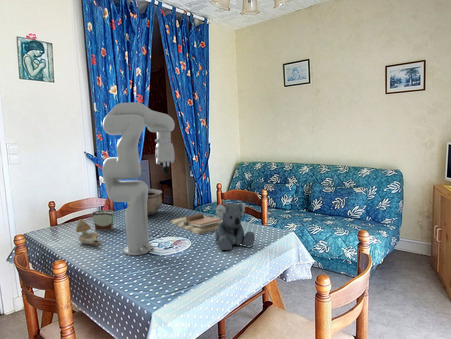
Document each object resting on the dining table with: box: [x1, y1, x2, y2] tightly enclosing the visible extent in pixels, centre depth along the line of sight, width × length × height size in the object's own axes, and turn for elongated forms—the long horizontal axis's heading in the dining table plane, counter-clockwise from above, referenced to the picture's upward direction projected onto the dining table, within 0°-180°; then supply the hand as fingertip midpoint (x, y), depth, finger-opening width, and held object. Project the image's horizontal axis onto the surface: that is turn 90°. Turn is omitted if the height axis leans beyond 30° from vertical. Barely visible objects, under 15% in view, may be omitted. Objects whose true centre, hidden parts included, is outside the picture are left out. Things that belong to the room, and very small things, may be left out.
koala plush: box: [214, 202, 256, 251], centre depth 144 cm, size 17×18×20 cm
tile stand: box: [169, 213, 221, 235], centre depth 177 cm, size 30×20×4 cm, turn 39°
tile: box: [188, 216, 223, 227], centre depth 173 cm, size 13×14×2 cm
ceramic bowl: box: [126, 188, 163, 216], centre depth 201 cm, size 22×22×15 cm
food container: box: [91, 209, 115, 231], centre depth 174 cm, size 12×6×10 cm, turn 84°
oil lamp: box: [75, 218, 101, 246], centre depth 152 cm, size 9×21×10 cm, turn 42°
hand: (165, 173), depth 177 cm, fingers closed
